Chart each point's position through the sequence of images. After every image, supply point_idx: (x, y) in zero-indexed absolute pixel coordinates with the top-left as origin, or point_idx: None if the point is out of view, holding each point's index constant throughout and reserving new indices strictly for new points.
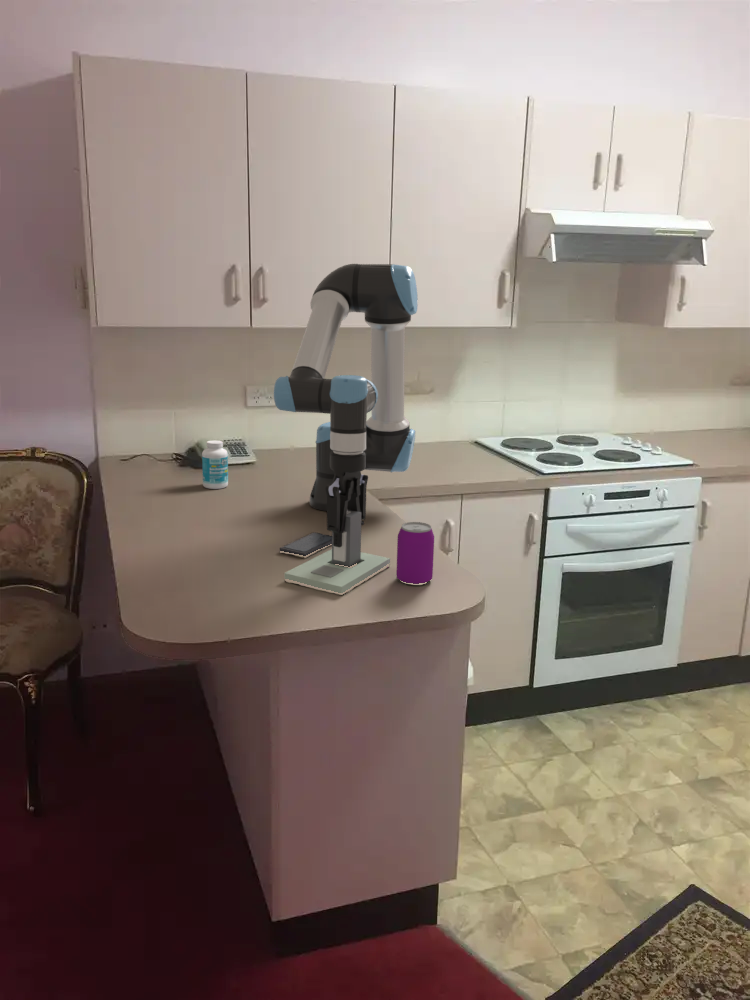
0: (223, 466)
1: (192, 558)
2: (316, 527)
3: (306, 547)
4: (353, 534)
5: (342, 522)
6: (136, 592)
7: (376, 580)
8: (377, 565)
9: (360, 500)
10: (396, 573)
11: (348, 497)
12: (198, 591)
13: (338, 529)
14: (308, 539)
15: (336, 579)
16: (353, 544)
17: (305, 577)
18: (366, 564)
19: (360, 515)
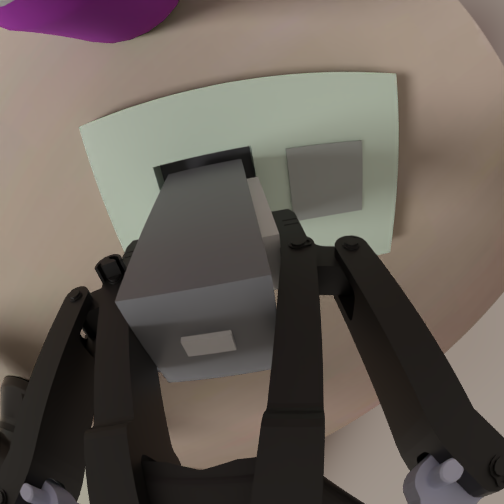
0: None
1: (350, 383)
2: None
3: None
4: (219, 212)
5: (316, 272)
6: (465, 327)
7: (211, 62)
8: (161, 98)
9: (67, 385)
10: (162, 17)
11: (310, 439)
12: (454, 295)
13: (356, 240)
14: None
15: (362, 117)
16: (217, 191)
17: (393, 196)
18: (181, 132)
19: (130, 285)
